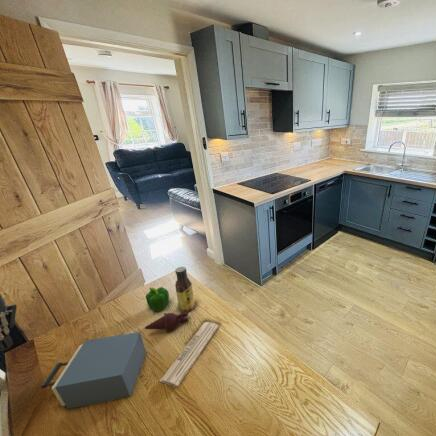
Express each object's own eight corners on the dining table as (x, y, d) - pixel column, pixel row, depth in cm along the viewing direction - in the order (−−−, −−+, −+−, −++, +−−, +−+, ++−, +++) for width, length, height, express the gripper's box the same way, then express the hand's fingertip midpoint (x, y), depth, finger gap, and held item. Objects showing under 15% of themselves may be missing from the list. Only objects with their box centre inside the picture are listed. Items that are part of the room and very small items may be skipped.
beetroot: (143, 331, 84) (189, 320, 91) (143, 313, 89) (186, 303, 96) (145, 342, 87) (189, 329, 94) (145, 324, 93) (187, 313, 100)
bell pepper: (174, 304, 104) (170, 286, 100) (156, 316, 98) (151, 298, 94) (163, 297, 108) (159, 279, 104) (145, 308, 102) (140, 290, 98)
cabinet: (67, 409, 67) (54, 387, 63) (94, 360, 80) (85, 340, 76) (130, 396, 70) (121, 374, 66) (146, 351, 84) (139, 331, 80)
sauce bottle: (191, 313, 100) (184, 274, 92) (177, 313, 100) (168, 274, 92) (197, 302, 106) (191, 265, 98) (184, 302, 106) (176, 264, 98)
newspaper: (178, 387, 73) (177, 384, 72) (158, 381, 74) (157, 377, 74) (218, 327, 94) (218, 324, 93) (203, 323, 95) (202, 320, 95)
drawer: (39, 410, 66) (27, 393, 63) (69, 364, 78) (60, 347, 75) (120, 394, 70) (112, 376, 67) (136, 352, 82) (131, 336, 79)
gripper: (-35, 315, 51) (2, 368, 58) (15, 277, 63) (41, 325, 70) (-80, 321, 50) (-36, 374, 57) (-20, 281, 62) (10, 330, 69)
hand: (6, 347), depth 63 cm, fingers closed
